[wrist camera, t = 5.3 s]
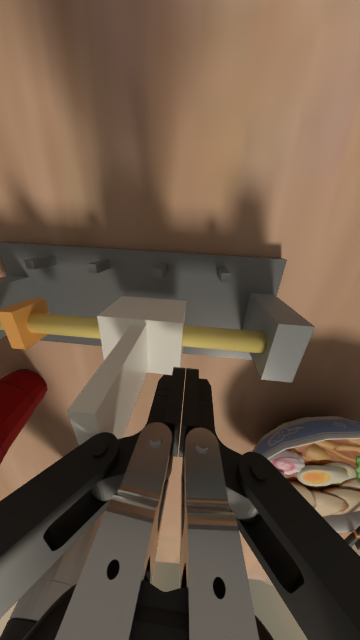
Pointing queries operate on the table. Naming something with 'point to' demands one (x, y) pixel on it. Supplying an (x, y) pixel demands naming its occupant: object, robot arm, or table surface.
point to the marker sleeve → (128, 362)
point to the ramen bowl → (321, 466)
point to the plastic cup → (18, 404)
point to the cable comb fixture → (160, 283)
